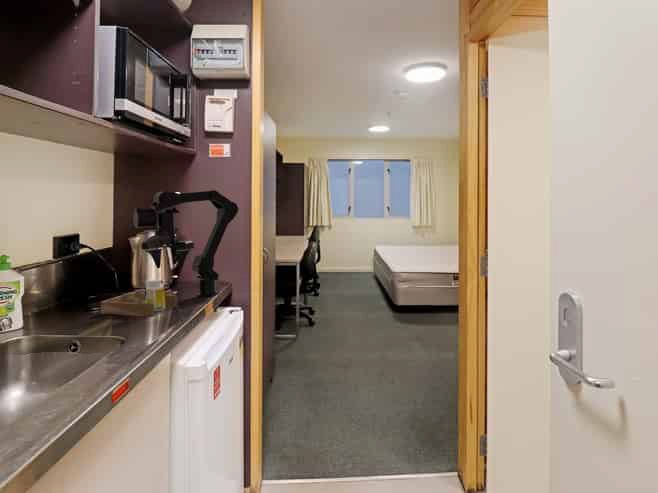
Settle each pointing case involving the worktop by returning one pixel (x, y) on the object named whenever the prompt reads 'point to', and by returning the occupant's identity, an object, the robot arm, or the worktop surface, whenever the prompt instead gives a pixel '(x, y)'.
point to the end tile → (164, 309)
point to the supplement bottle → (155, 295)
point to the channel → (134, 304)
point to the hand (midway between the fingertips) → (169, 268)
